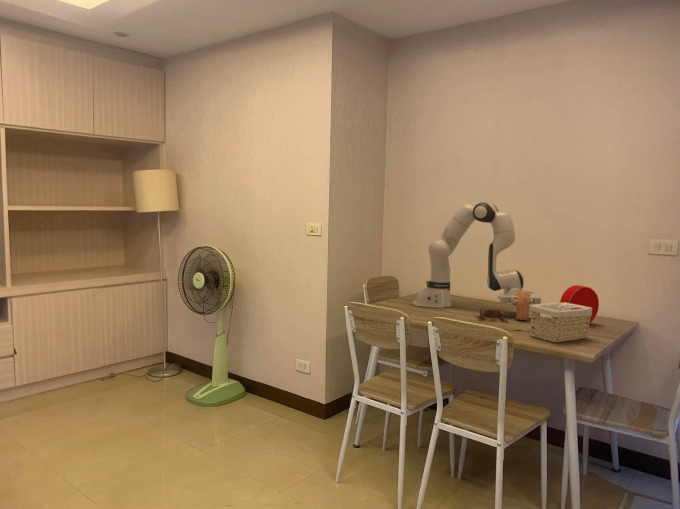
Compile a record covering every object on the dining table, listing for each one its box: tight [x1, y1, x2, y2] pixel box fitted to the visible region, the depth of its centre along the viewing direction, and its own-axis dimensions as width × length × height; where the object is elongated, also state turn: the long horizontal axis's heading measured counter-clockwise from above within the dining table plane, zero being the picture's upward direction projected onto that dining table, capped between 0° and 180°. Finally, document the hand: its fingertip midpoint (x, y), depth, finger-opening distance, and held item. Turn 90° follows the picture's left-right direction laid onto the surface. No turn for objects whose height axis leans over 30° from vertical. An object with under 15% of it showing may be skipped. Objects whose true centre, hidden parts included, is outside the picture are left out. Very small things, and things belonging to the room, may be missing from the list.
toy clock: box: [559, 284, 600, 325], centre depth 263 cm, size 20×6×20 cm, turn 111°
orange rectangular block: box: [515, 290, 531, 321], centre depth 264 cm, size 6×8×14 cm
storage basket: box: [529, 302, 592, 343], centre depth 237 cm, size 24×16×15 cm
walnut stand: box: [474, 308, 511, 324], centre depth 267 cm, size 15×15×5 cm
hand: (523, 302), depth 264 cm, fingers closed on orange rectangular block, 6 cm apart
